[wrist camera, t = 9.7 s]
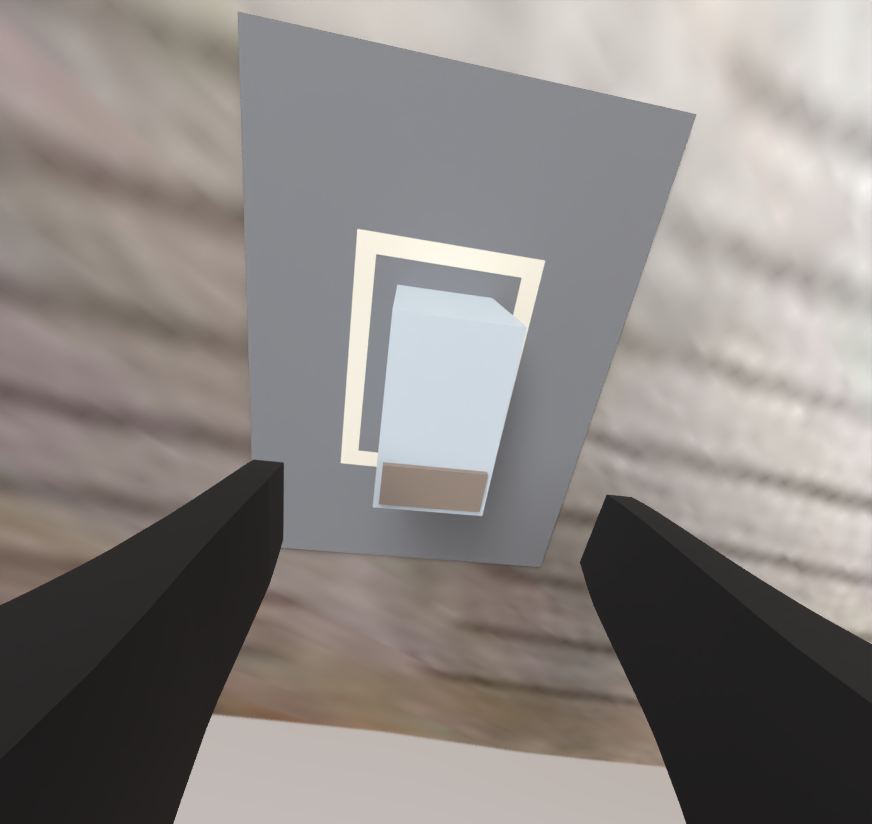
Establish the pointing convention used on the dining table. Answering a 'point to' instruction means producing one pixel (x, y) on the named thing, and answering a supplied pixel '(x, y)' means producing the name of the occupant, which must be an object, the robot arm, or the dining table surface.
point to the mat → (432, 266)
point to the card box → (444, 400)
